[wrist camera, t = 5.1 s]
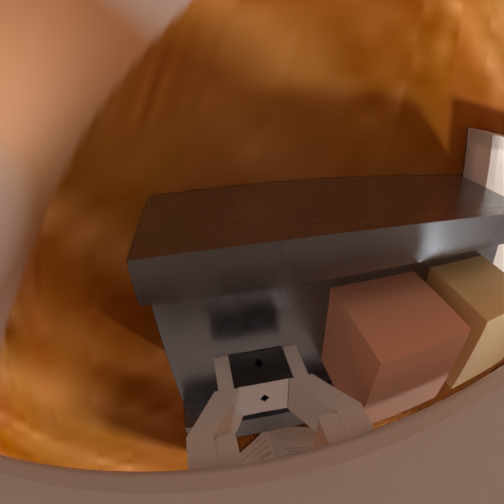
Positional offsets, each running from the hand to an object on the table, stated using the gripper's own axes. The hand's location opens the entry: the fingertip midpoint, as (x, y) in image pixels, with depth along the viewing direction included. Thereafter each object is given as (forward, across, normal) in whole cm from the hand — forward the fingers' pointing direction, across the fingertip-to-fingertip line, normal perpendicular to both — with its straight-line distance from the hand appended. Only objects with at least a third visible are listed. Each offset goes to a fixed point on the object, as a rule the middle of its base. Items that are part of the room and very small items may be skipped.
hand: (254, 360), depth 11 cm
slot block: (+5, -5, 0) cm, 7 cm away
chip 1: (+1, -10, 0) cm, 10 cm away
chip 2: (+1, -5, 0) cm, 5 cm away
